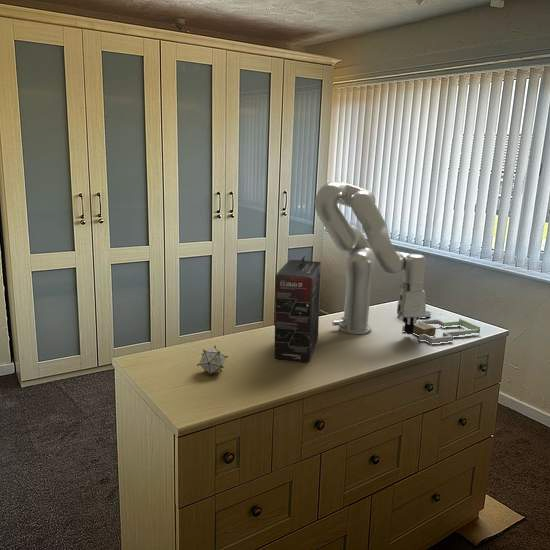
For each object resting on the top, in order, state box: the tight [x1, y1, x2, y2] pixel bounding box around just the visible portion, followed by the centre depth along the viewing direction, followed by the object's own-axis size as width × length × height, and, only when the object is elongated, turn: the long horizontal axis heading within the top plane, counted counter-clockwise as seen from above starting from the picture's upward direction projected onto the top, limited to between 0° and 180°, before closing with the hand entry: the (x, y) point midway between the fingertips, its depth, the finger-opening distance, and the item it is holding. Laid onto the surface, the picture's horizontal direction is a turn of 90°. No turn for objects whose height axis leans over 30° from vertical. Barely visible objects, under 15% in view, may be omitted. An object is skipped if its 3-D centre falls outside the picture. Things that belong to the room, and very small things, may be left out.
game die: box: [196, 345, 229, 377], centre depth 158 cm, size 9×8×10 cm
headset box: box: [273, 255, 322, 364], centre depth 177 cm, size 24×13×33 cm, turn 168°
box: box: [401, 318, 481, 344], centre depth 202 cm, size 28×20×4 cm
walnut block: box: [413, 323, 437, 336], centre depth 200 cm, size 6×6×4 cm
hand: (408, 333), depth 197 cm, fingers closed
